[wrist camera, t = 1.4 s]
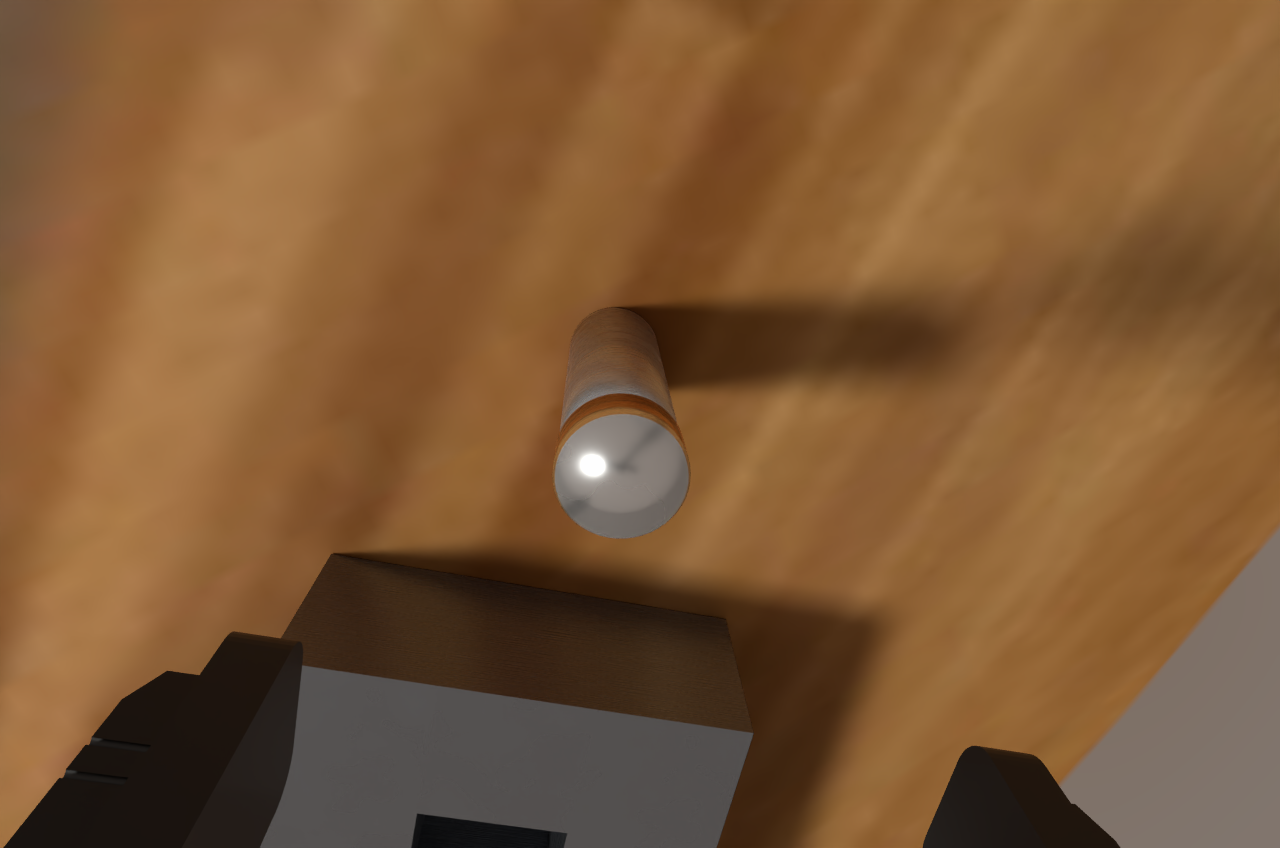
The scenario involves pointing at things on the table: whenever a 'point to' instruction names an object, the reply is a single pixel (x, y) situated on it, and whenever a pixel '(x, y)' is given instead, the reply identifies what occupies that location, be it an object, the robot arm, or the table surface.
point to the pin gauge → (618, 430)
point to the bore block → (505, 717)
